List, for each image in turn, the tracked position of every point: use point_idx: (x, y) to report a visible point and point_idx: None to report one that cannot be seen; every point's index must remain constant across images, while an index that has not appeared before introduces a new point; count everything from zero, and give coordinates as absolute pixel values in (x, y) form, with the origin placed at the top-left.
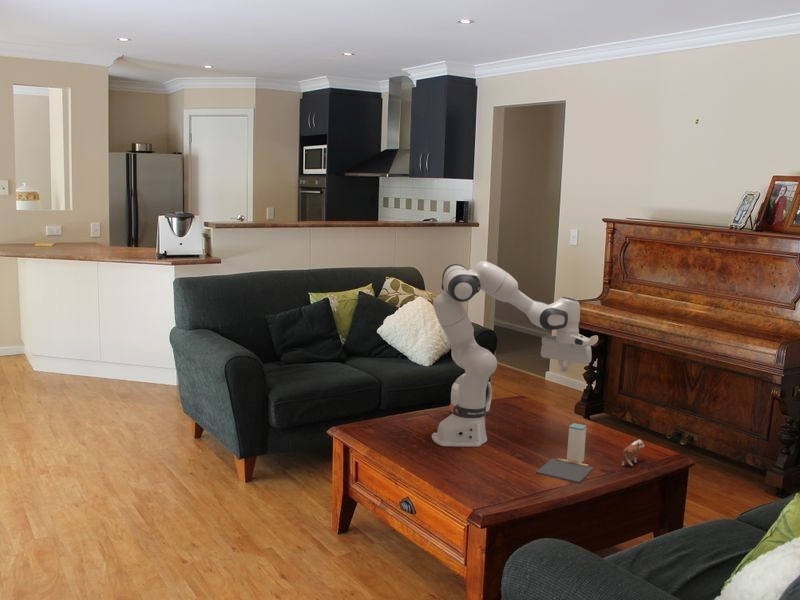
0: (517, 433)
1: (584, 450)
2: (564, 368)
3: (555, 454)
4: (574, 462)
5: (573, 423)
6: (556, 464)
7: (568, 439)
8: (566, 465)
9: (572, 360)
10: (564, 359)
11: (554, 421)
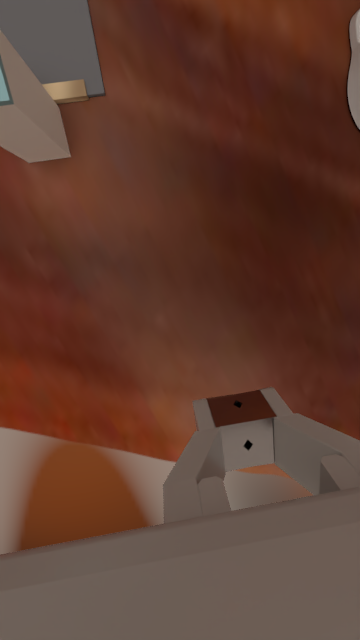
0: (298, 251)
1: (10, 151)
2: (236, 414)
3: (124, 155)
4: None
5: (4, 91)
6: (59, 36)
7: (20, 57)
8: (30, 54)
9: (95, 566)
10: (299, 521)
11: None
